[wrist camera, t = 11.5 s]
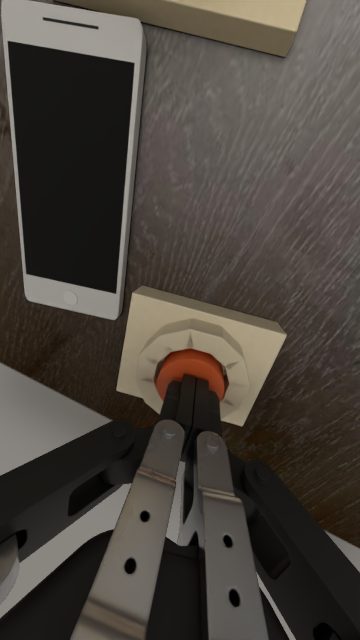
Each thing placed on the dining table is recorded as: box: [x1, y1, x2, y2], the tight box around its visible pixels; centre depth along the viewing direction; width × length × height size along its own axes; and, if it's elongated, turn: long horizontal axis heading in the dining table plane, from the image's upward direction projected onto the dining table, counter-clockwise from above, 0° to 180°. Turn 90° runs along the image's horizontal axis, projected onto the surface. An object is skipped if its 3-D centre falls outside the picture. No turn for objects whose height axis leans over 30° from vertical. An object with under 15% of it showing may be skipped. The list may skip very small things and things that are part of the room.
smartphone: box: [1, 0, 147, 320], centre depth 14 cm, size 7×15×1 cm, turn 169°
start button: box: [157, 348, 224, 401], centre depth 14 cm, size 4×4×2 cm
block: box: [116, 285, 287, 426], centre depth 15 cm, size 10×8×4 cm
